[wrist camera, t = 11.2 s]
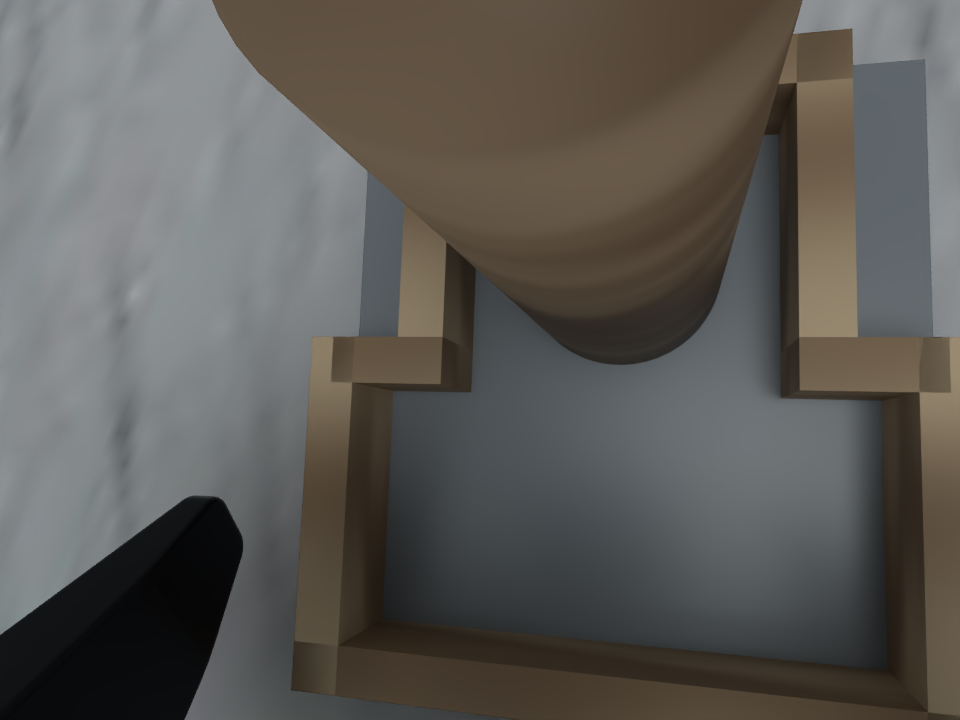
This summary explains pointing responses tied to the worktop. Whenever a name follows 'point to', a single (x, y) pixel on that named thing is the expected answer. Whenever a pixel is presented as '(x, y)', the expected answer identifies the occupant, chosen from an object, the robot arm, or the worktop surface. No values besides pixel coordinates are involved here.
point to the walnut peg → (549, 139)
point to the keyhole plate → (657, 462)
